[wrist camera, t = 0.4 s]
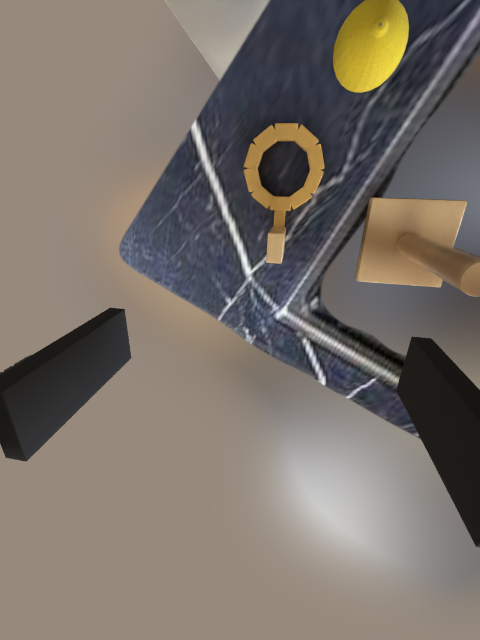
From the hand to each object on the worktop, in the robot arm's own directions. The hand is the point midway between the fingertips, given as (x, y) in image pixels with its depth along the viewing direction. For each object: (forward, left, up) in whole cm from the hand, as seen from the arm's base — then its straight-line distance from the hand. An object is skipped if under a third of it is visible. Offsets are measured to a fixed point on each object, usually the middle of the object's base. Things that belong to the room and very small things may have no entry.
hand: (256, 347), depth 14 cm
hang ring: (-6, -1, -24) cm, 25 cm away
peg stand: (-2, +13, -25) cm, 28 cm away
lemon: (-18, +6, -25) cm, 31 cm away
